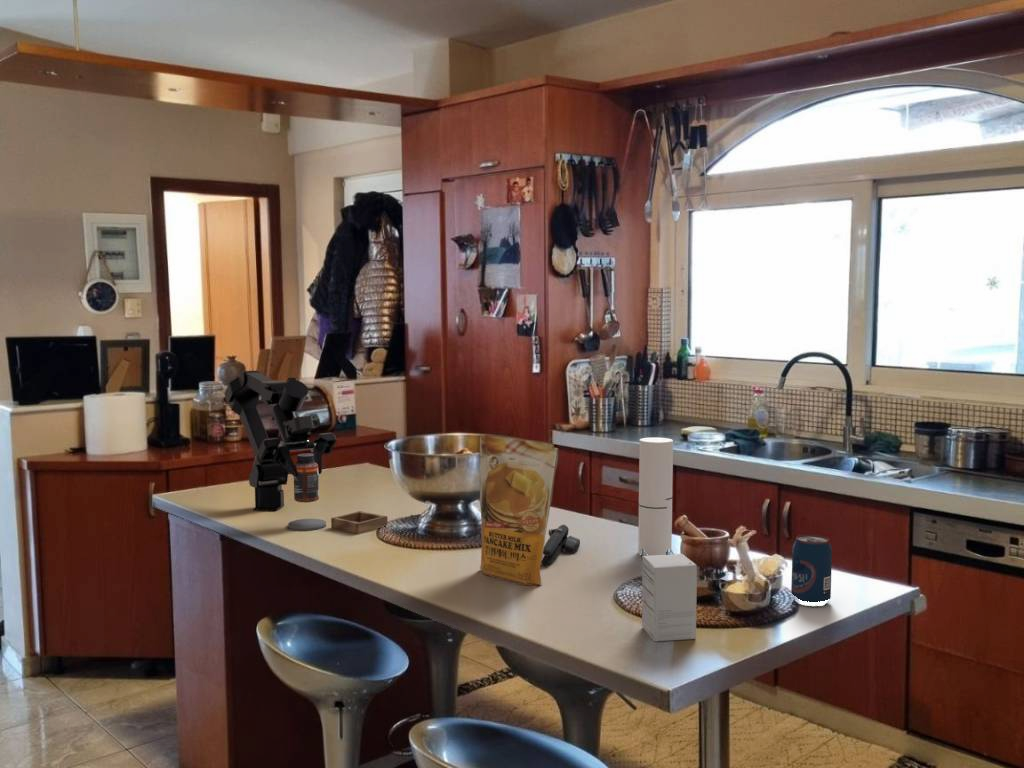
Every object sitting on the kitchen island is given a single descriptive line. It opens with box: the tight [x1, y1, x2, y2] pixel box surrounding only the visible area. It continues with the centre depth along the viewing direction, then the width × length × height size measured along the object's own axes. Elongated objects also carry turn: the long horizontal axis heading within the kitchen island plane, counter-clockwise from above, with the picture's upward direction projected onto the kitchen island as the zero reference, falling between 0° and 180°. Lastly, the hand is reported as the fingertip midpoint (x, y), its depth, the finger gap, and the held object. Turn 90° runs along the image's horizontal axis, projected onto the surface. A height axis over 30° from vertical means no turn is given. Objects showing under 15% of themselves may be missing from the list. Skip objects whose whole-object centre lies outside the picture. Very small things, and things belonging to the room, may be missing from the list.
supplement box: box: [641, 553, 698, 643], centre depth 164 cm, size 7×7×13 cm
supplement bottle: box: [293, 452, 320, 503], centre depth 238 cm, size 6×6×11 cm
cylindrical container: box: [637, 437, 674, 556], centre depth 213 cm, size 7×7×25 cm
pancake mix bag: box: [478, 434, 560, 586], centre depth 196 cm, size 7×19×28 cm, turn 48°
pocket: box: [330, 510, 389, 535], centre depth 238 cm, size 10×10×2 cm
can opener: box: [541, 524, 581, 567], centre depth 212 cm, size 18×7×6 cm, turn 160°
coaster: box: [287, 518, 327, 532], centre depth 239 cm, size 9×9×1 cm
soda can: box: [790, 534, 833, 602], centre depth 180 cm, size 7×7×12 cm
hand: (308, 474), depth 237 cm, fingers closed on supplement bottle, 6 cm apart
